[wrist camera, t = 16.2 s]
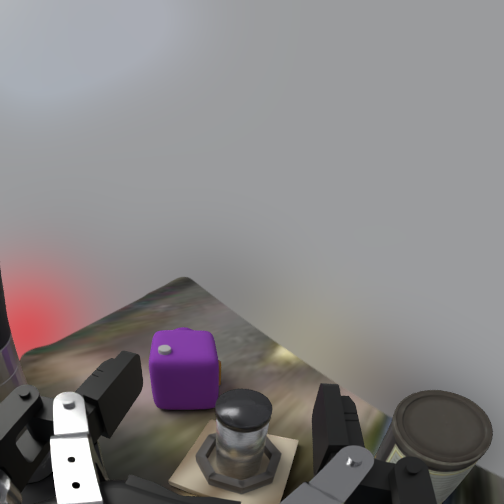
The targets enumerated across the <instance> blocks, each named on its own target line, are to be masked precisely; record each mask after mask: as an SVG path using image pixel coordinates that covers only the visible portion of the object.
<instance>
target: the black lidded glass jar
mask: <svg viewBox="0 0 504 504" xmlns="http://www.w3.org/2000/svg"><path fill="white" fill-rule="evenodd" d="M271 414H272V404H271V402H270V401H269V399H268V398H267V397H266V396H264V395H263V394H261V393H259V392H257V391H253V390H249V389H234V390H230V391H227V392H225V393H223V394H222V395H221V396H219V398H218V399H217V401H216V404H215V415H216V466H217V468H218V470H219V471H220V472H221V473H222V474H223V475H225V476H227V477H231V478H234V479H238V480H243V479H247V478H250V477H253V476H254V475H256V474H257V473H258V472H259V470H260V468H261V463H262V458H263V452H264V447H265V442H266V436H267V430H268V425H269V421H270V419H271Z"/></svg>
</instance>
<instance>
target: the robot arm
mask: <svg viewBox="0 0 504 504" xmlns="http://www.w3.org/2000/svg"><path fill="white" fill-rule="evenodd" d="M142 387H143V377H142V369H141V361H140V356H139V355H138V354H135V353H131V352H127V351H122V352H121V353H120V354H119V355H118V356H117V357H116V358H115V359H113V358H111V359H109V360H107V361H105V362H103V363H102V364H101V365H100V366H99V367H98V368H97V370H95V371H94V372H93V373H92V375H90V376H89V377H88V378H87V380H86V381H85V382H84V383H83V384H82V385H81V386H80V387H79V388H78V389H77V390H76V391H75V392H64V393H61V394H59V395H58V396H57V397H56V398H55V399H54V398H48V397H42V396H40V394H39V391H38V389H37V388H36V387H34V386H32V385H28V384H27V382H26V379H25V376H24V373H23V370H22V367H21V364H20V361H19V358H18V355H17V352H16V349H15V345H14V342H13V338H12V334H11V330H10V327H9V322H8V318H7V312H6V305H5V298H4V291H3V285H2V278H1V270H0V504H21V503H22V495H21V492H22V490H23V489H24V487H25V486H26V484H27V483H32V482H37V481H40V480H42V479H44V478H45V477H47V476H48V475H49V474H50V473H51V472H52V471H53V475H54V483H55V490H56V496H57V497H56V498H52V499H49V500H45V501H42V502H38V503H34V504H241V501H234V500H228V499H222V498H217V497H197V496H181V495H178V494H176V493H174V492H172V491H170V490H168V489H166V488H164V487H163V486H161V485H159V484H157V483H155V482H152V481H149V480H146V479H143V478H140V477H137V476H134V475H131V474H130V475H129V477H128V479H127V480H109V479H108V476H107V473H106V470H105V466H104V462H103V458H102V454H101V450H100V446H99V442H98V438H99V437H100V436H101V435H102V436H104V437H107V438H109V439H110V437H111V436H112V434H113V433H114V431H115V430H116V428H117V427H118V425H119V424H120V422H121V421H122V419H123V418H124V416H125V415H126V413H127V412H128V410H129V409H130V407H131V406H132V404H133V403H134V401H135V400H136V399H137V397H138V396H139V394H140V392H141V390H142ZM312 437H313V467H314V478H313V479H312V480H311V481H310V482H304V483H303V484H301V485H300V486H299V487H298V488H297V489H296V490H294V491H293V492H292V493H291V494H290V495H289V496H288V497H286V498H285V499H284V500H283V501H282V502H281V503H279V504H437V501H436V497H435V493H434V489H433V485H432V481H431V477H430V473H429V470H428V467H427V465H426V463H425V462H424V461H423V460H421V459H419V458H417V457H412V456H408V457H403V458H401V459H400V460H398V461H397V463H396V464H395V463H390V462H384V461H380V460H377V459H375V458H374V457H373V455H372V453H371V452H370V451H369V450H367V449H366V448H365V446H364V442H363V437H362V432H361V428H360V423H359V419H358V414H357V410H356V405H355V403H354V402H353V401H352V399H351V398H350V397H349V396H341V395H340V389H339V385H338V384H324V383H321V384H320V387H319V391H318V394H317V398H316V401H315V405H314V409H313V414H312Z"/></svg>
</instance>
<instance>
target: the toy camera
mask: <svg viewBox="0 0 504 504" xmlns="http://www.w3.org/2000/svg"><path fill="white" fill-rule="evenodd" d="M149 371H150V379H151V386H152V393H153V398H154V402H155V404H156V406H157V407H158V408H161V409H172V410H195V409H211V408H214V407H215V404H216V401H217V399H218V394H219V385H221V361H219V360H218V356H217V351H216V346H215V341H214V338H213V335H212V334H211V333H210V332H208V331H194V330H192V329H189V328H177V329H175V330H164V331H158V332H156V333H155V334H154V337H153V340H152V346H151V351H150V358H149Z"/></svg>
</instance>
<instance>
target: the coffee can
mask: <svg viewBox="0 0 504 504" xmlns="http://www.w3.org/2000/svg"><path fill="white" fill-rule="evenodd" d="M492 432H493V431H492V425H491V422H490V420H489V418H488V416H487V415H486V414H485V412H484V411H483V410H482V409H481V408H480V407H479V406H478V405H476V404H475V403H474V402H473V401H471V400H469V399H467V398H465V397H463V396H460V395H458V394H455V393H451V392H447V391H441V390H427V391H421V392H417V393H414V394H411V395H409V396H408V397H406V398H405V399H403V400H402V401H401V402H400V403H399V405H398V406H397V408H396V410H395V412H394V415H393V418H392V422H391V424H390V426H389V429H388V431H387V433H386V435H385V437H384V439H383V441H382V443H381V445H380V447H379V449H378V451H377V453H376V455H375V457H374V458H375V459H377V460H380V461H384V462H390V463H395V464H396V463H397V461H398V460H400V459H401V458H403V457H408V456H412V457H417V458H419V459H421V460H423V461H424V462H425V463H426V465H427V467H428V470H429V473H430V477H431V481H432V485H433V489H434V493H435V497H436V501H437V504H442V503H443V502H444V501H445V500H446V498H447V497H448V496H449V495H450V494H451V493H452V492H453V491H454V490H455V488H456V487H457V486H458V485H459V484H460V482H461V481H462V480H463V479H464V478H465V476H466V475H467V474H468V473H469V471H470V470H471V469H472V468H473V466H474V465H475V464H476V462H477V461H478V460H479V459H480V458H481V457H482V456H483V455H484V454H485V452H486V451H487V450H488V448H489V446H490V444H491V441H492V436H493V433H492Z"/></svg>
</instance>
